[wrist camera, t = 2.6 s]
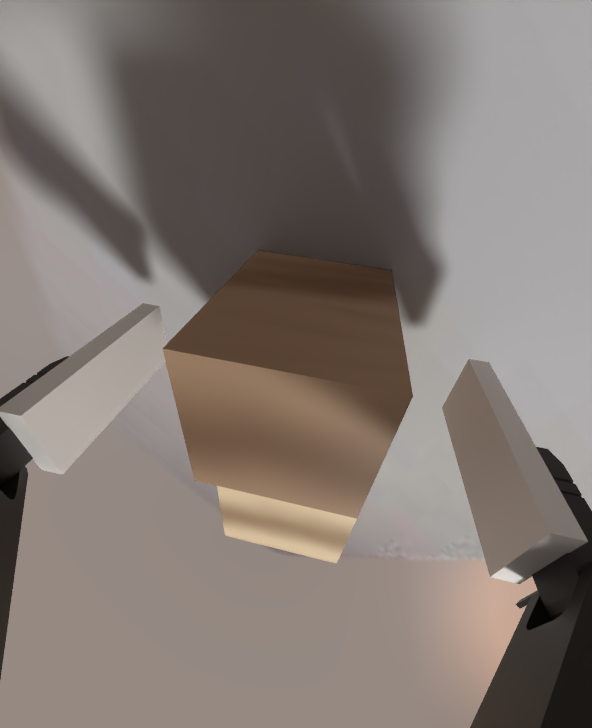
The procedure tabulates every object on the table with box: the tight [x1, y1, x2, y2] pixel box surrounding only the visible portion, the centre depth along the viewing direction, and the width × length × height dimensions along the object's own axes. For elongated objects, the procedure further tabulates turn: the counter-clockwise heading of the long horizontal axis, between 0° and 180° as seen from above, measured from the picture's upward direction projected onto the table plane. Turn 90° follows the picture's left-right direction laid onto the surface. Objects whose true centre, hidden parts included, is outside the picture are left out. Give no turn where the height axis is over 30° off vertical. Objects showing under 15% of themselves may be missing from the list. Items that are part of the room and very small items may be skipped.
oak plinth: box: [217, 486, 357, 563], centre depth 22 cm, size 9×9×3 cm
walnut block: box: [163, 250, 413, 519], centre depth 12 cm, size 6×6×8 cm
